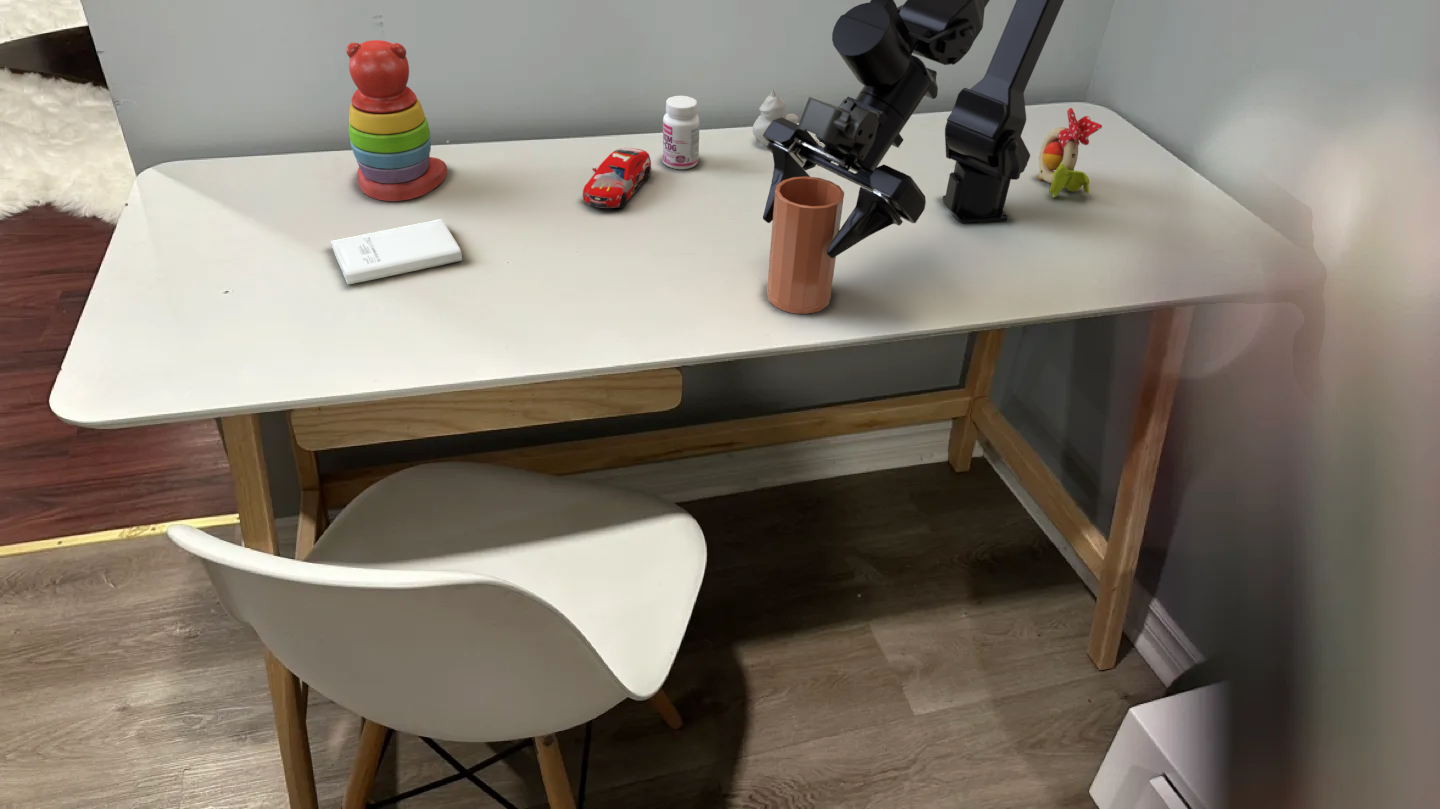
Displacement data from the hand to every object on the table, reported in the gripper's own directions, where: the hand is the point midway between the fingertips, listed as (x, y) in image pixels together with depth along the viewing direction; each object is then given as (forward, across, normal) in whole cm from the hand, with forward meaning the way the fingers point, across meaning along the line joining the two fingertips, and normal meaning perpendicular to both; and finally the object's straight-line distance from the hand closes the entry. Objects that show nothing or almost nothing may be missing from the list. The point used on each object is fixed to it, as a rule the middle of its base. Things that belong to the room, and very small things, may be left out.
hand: (796, 238), depth 103 cm
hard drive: (+26, -34, -14) cm, 45 cm away
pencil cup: (+4, 0, +6) cm, 8 cm away
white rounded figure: (-14, -30, +25) cm, 41 cm away
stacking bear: (+19, -50, -8) cm, 54 cm away
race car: (+5, -32, +6) cm, 33 cm away
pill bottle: (-3, -33, +14) cm, 36 cm away
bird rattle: (-28, +3, +39) cm, 48 cm away
